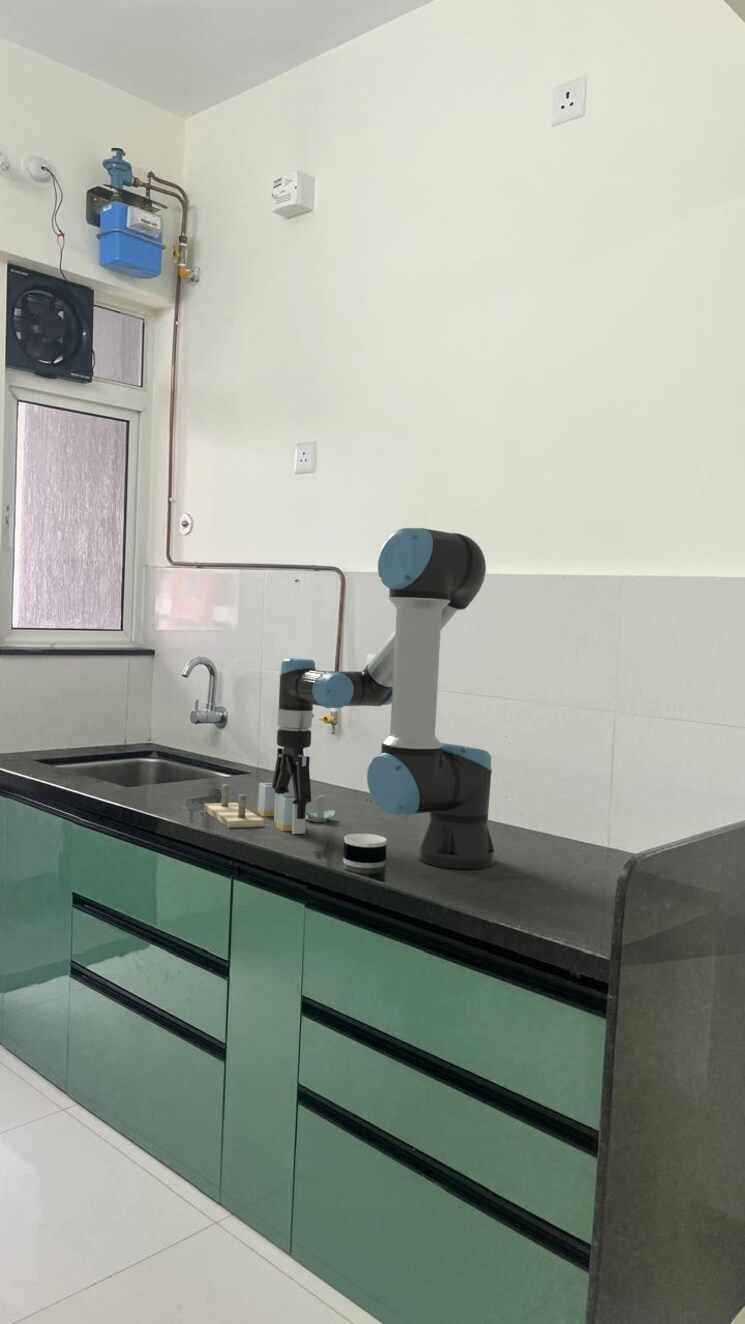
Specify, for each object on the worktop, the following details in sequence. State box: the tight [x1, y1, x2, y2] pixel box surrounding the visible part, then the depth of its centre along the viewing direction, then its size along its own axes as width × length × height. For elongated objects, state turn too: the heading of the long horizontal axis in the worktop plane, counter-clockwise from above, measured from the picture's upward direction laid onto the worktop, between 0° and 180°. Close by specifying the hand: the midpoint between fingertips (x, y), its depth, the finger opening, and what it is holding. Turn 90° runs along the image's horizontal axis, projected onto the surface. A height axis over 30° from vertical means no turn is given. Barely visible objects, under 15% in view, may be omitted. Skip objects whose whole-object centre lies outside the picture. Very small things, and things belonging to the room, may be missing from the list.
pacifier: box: [306, 794, 336, 823], centre depth 234 cm, size 7×6×6 cm
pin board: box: [203, 783, 265, 829], centre depth 231 cm, size 20×8×6 cm, turn 25°
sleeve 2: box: [275, 794, 295, 832], centre depth 223 cm, size 5×5×7 cm
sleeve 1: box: [256, 782, 276, 817], centre depth 238 cm, size 5×5×7 cm
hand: (289, 827), depth 223 cm, fingers open, 11 cm apart
